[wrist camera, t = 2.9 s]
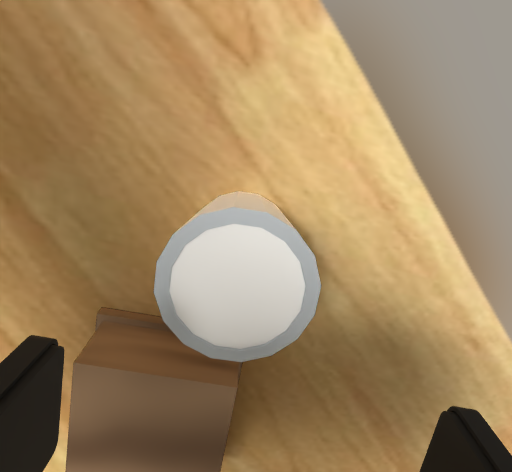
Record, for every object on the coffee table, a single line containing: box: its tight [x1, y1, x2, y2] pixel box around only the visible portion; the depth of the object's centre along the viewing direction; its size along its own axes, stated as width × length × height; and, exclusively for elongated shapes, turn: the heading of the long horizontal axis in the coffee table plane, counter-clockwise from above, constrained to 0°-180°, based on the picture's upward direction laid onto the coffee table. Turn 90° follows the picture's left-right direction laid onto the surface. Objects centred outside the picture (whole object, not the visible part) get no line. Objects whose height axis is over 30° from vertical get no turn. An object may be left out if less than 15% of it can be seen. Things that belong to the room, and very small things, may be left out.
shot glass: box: [154, 191, 321, 362], centre depth 20 cm, size 7×7×7 cm
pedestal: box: [66, 307, 243, 472], centre depth 24 cm, size 9×9×5 cm
